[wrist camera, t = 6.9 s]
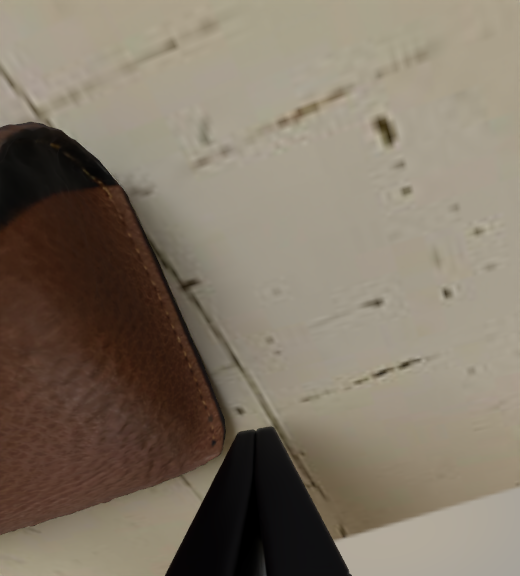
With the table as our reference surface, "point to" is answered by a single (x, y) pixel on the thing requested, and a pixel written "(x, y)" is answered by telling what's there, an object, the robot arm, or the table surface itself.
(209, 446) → the sunglasses case
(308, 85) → the table surface
